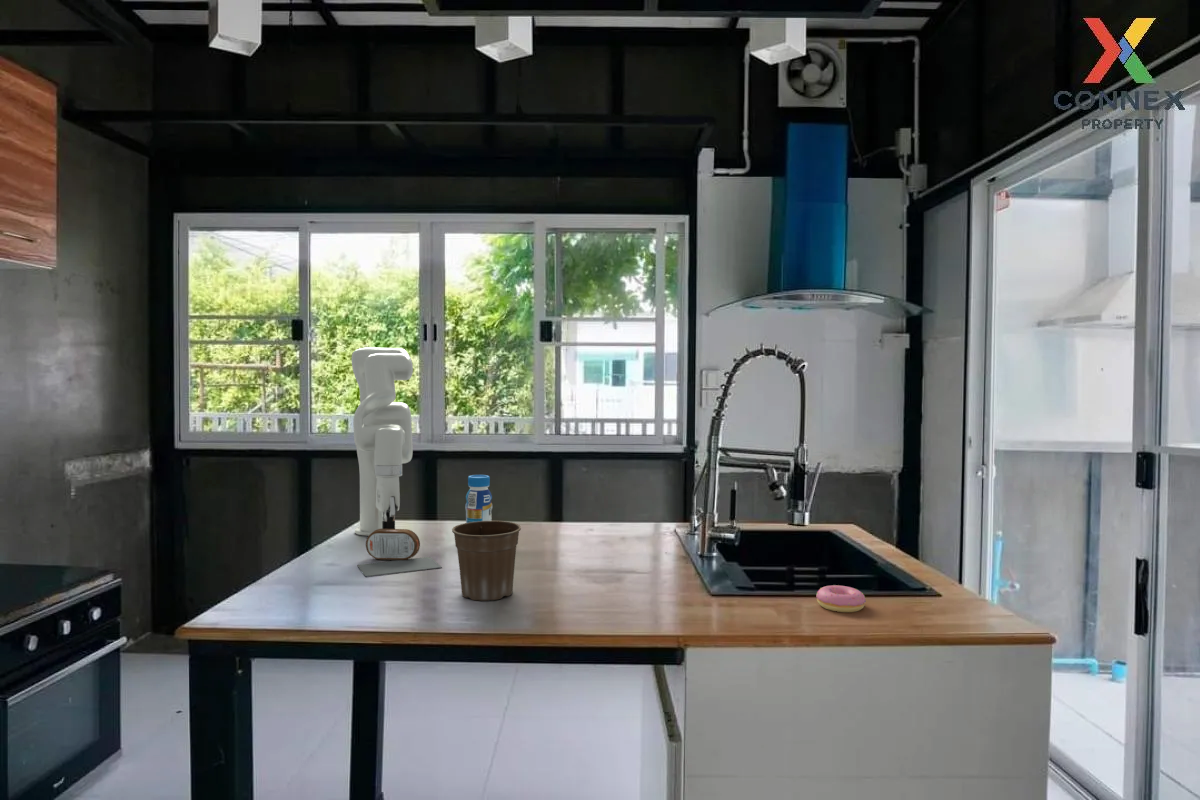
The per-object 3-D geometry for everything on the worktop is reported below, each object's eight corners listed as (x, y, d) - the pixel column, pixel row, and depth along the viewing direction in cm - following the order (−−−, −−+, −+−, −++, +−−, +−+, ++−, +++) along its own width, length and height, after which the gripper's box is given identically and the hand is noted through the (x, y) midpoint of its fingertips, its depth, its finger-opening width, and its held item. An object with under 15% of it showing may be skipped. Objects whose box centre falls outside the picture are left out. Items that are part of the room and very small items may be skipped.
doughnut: (833, 616, 167) (834, 598, 167) (806, 601, 178) (807, 584, 178) (875, 612, 170) (876, 594, 170) (846, 598, 181) (847, 581, 181)
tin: (420, 558, 211) (420, 528, 211) (416, 560, 208) (416, 530, 208) (368, 557, 213) (368, 528, 213) (364, 560, 210) (364, 530, 210)
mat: (357, 565, 204) (357, 564, 204) (429, 557, 214) (429, 556, 214) (365, 577, 194) (365, 575, 194) (441, 568, 203) (441, 566, 203)
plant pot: (454, 606, 171) (454, 536, 170) (449, 586, 186) (449, 522, 186) (525, 601, 175) (526, 532, 174) (514, 582, 191) (515, 519, 190)
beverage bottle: (462, 537, 239) (462, 474, 238) (487, 535, 243) (488, 473, 242) (469, 543, 232) (469, 478, 231) (495, 540, 235) (495, 477, 234)
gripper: (369, 468, 219) (369, 530, 219) (380, 474, 205) (380, 541, 206) (395, 466, 222) (395, 528, 223) (408, 473, 209) (408, 538, 210)
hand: (388, 534), depth 215 cm, fingers closed
